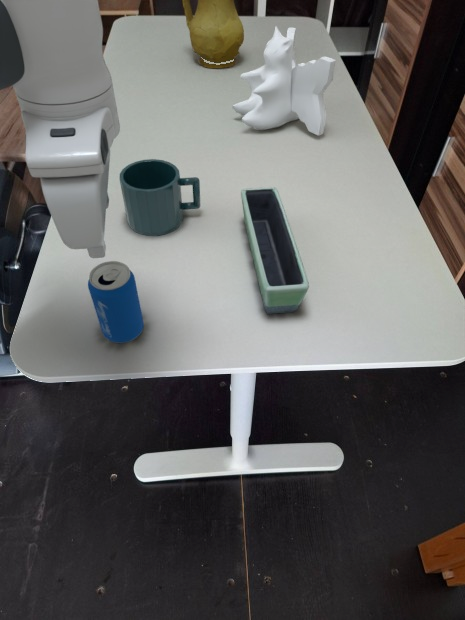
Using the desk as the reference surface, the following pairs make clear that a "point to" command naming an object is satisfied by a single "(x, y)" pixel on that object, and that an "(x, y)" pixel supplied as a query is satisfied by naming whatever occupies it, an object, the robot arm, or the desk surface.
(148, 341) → the desk surface
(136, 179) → the teal faceted mug
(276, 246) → the planter
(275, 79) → the white faceted figurine
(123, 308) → the beverage can
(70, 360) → the desk surface
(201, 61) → the pitcher
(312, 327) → the desk surface
